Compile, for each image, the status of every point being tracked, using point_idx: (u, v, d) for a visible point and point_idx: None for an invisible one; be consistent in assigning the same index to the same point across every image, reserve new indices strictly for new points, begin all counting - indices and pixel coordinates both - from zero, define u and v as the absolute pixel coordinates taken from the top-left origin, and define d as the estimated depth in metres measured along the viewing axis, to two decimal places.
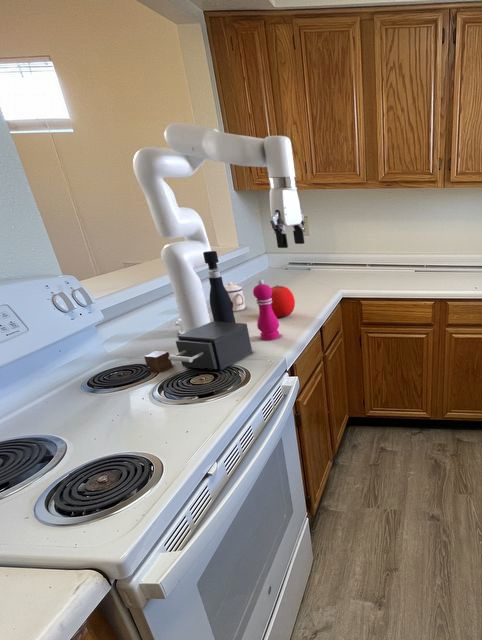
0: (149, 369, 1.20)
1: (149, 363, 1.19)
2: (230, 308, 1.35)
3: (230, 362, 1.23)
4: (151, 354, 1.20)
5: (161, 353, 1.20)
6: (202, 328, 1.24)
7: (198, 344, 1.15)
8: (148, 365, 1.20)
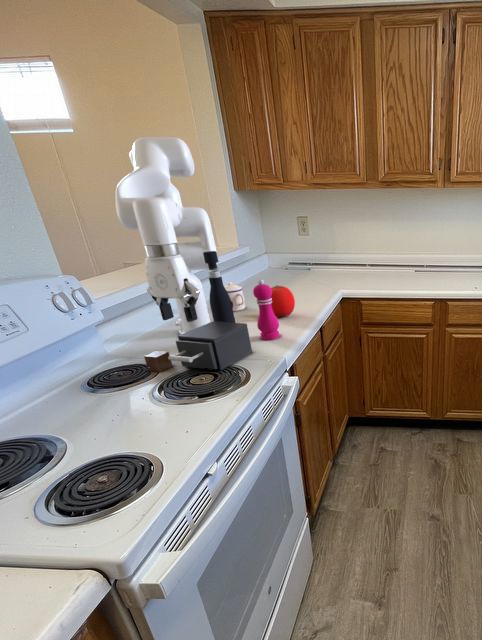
0: (149, 369, 1.20)
1: (149, 363, 1.19)
2: (230, 308, 1.35)
3: (230, 362, 1.23)
4: (151, 354, 1.20)
5: (161, 353, 1.20)
6: (202, 328, 1.24)
7: (198, 344, 1.15)
8: (148, 365, 1.20)
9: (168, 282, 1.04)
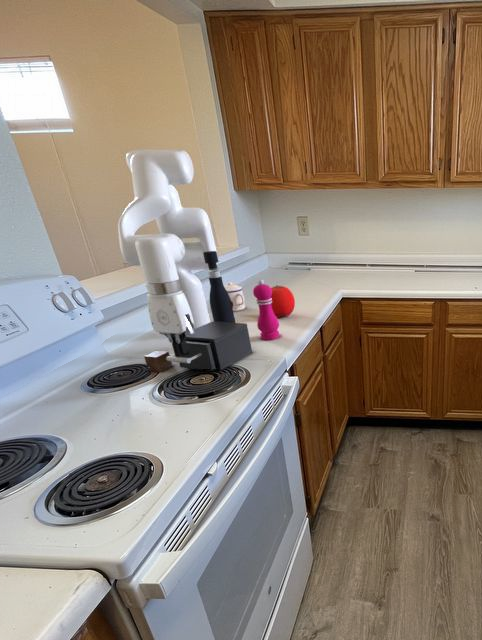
0: (149, 369, 1.20)
1: (149, 363, 1.19)
2: (230, 308, 1.35)
3: (230, 362, 1.23)
4: (151, 354, 1.20)
5: (161, 353, 1.20)
6: (202, 328, 1.24)
7: (196, 345, 1.15)
8: (148, 365, 1.20)
9: (170, 318, 1.05)
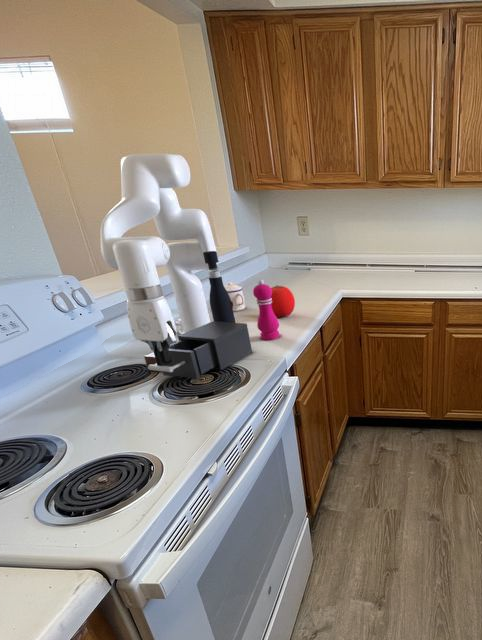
0: None
1: (149, 363, 1.19)
2: (230, 308, 1.35)
3: (230, 362, 1.23)
4: (151, 354, 1.20)
5: None
6: (202, 328, 1.24)
7: (179, 353, 1.09)
8: None
9: (150, 325, 1.00)
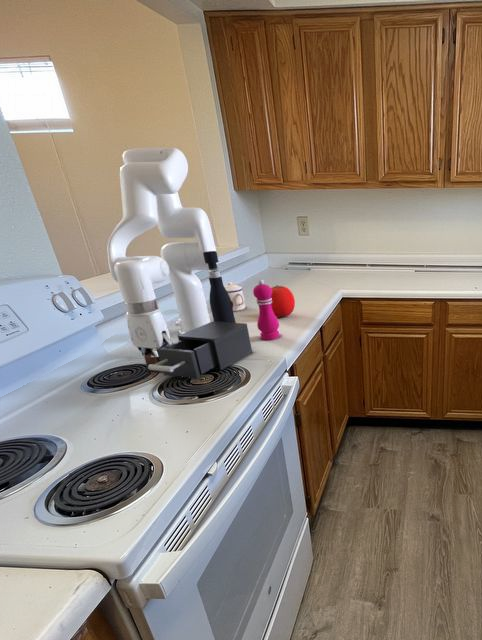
0: (149, 369, 1.20)
1: (149, 363, 1.19)
2: (230, 308, 1.35)
3: (230, 362, 1.23)
4: (151, 354, 1.20)
5: None
6: (202, 328, 1.24)
7: (180, 352, 1.09)
8: (148, 365, 1.20)
9: (147, 335, 1.14)
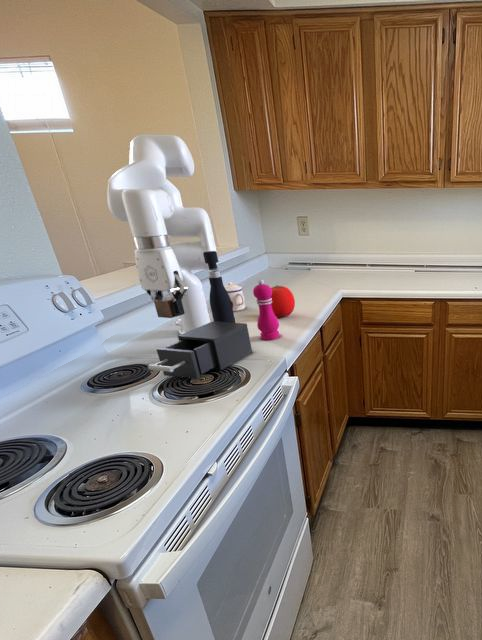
0: (159, 315, 1.09)
1: (159, 308, 1.08)
2: (230, 308, 1.35)
3: (230, 362, 1.23)
4: (161, 299, 1.09)
5: None
6: (202, 328, 1.24)
7: (180, 352, 1.09)
8: (158, 311, 1.09)
9: (158, 274, 1.03)
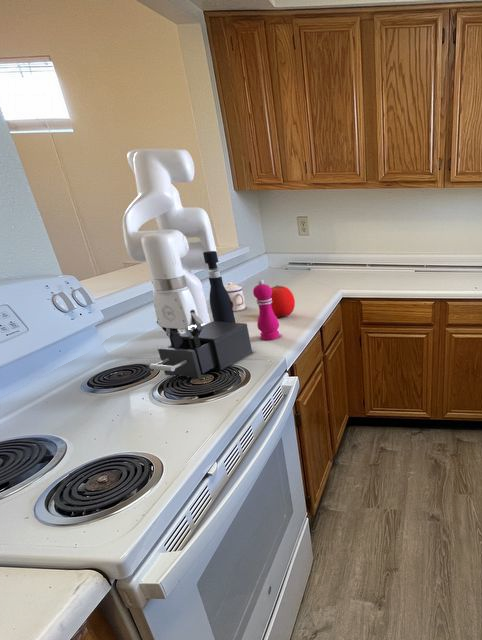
0: None
1: None
2: (230, 308, 1.35)
3: (230, 362, 1.23)
4: None
5: None
6: None
7: (181, 352, 1.10)
8: None
9: (175, 314, 1.07)
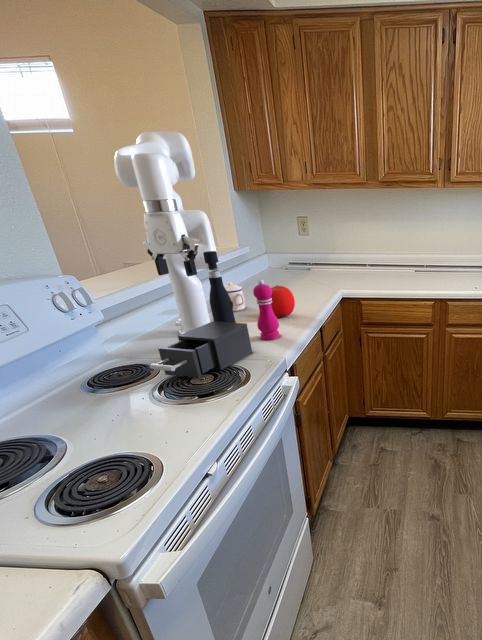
0: None
1: None
2: (230, 308, 1.35)
3: (230, 362, 1.23)
4: None
5: None
6: (202, 328, 1.24)
7: (181, 352, 1.10)
8: None
9: (166, 237, 1.07)
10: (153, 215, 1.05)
